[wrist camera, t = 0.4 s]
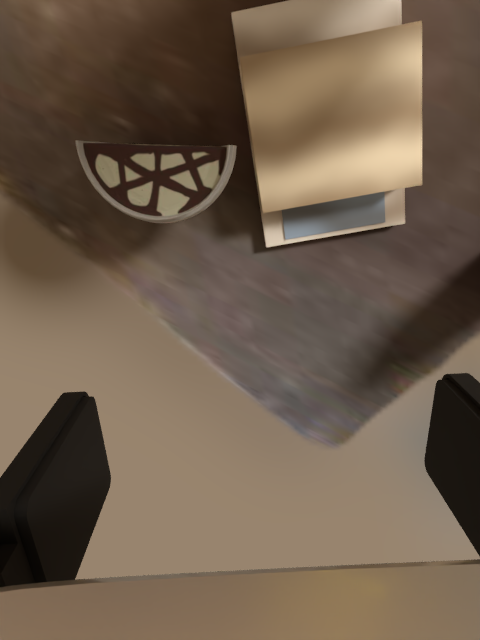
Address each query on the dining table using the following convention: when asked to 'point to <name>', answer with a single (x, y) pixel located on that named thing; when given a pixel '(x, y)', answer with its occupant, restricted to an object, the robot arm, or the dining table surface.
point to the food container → (157, 177)
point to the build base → (331, 114)
